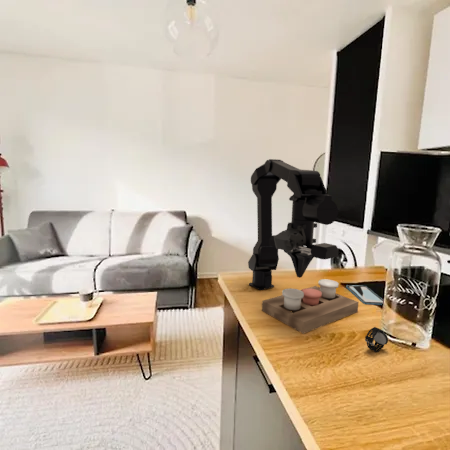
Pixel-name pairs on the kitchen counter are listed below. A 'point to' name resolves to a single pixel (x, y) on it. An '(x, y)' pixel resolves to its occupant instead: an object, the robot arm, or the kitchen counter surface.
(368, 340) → the smartwatch
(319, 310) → the socket board
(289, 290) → the grey plug near
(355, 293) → the smartphone
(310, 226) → the robot arm
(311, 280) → the kitchen counter surface
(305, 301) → the red plug
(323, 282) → the grey plug far
